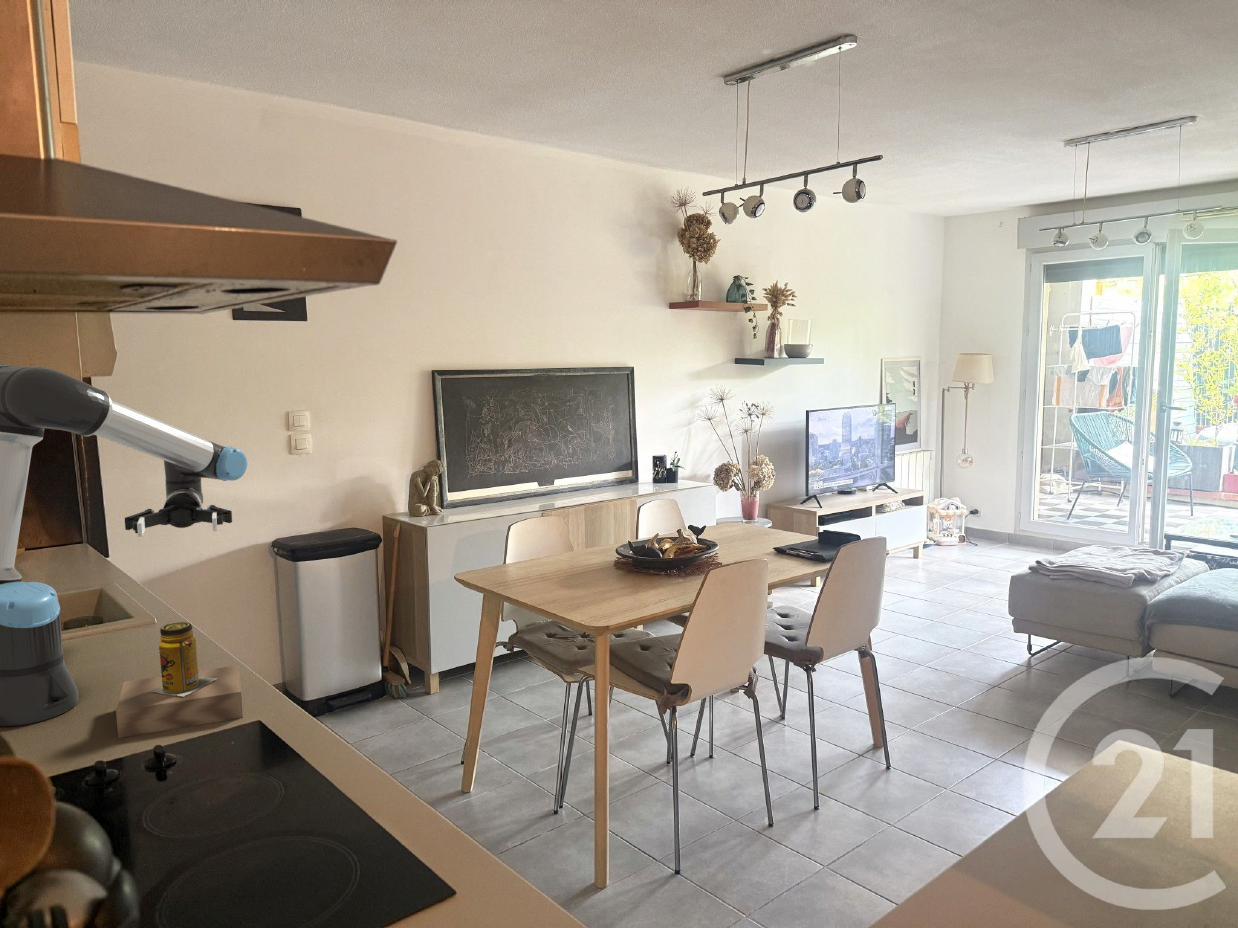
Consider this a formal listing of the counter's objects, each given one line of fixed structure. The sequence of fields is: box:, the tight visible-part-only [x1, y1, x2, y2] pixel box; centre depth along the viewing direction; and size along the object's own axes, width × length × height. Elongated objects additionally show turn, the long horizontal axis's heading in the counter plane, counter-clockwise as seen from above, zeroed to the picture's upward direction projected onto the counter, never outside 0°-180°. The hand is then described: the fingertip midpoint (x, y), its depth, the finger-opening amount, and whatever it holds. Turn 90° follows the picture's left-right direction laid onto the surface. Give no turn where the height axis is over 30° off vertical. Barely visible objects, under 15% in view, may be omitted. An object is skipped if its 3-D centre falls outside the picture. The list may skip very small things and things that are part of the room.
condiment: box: [151, 621, 218, 697], centre depth 161 cm, size 7×8×12 cm
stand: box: [115, 664, 244, 739], centre depth 162 cm, size 20×14×5 cm
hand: (177, 527), depth 177 cm, fingers open, 13 cm apart
